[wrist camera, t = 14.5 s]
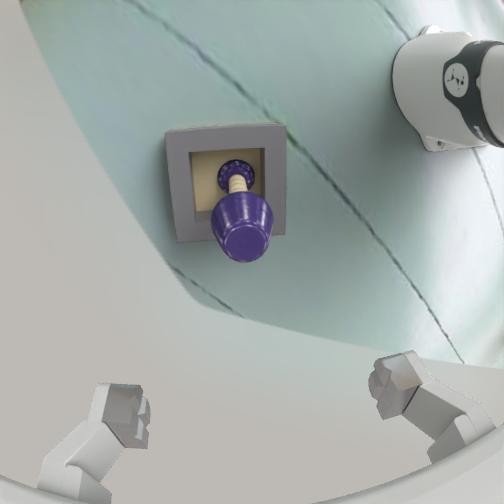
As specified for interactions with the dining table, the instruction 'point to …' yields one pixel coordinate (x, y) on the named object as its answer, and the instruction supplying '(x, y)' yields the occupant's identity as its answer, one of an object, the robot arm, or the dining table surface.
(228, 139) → the socket block
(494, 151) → the dining table surface
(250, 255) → the toy lamp
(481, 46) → the robot arm
